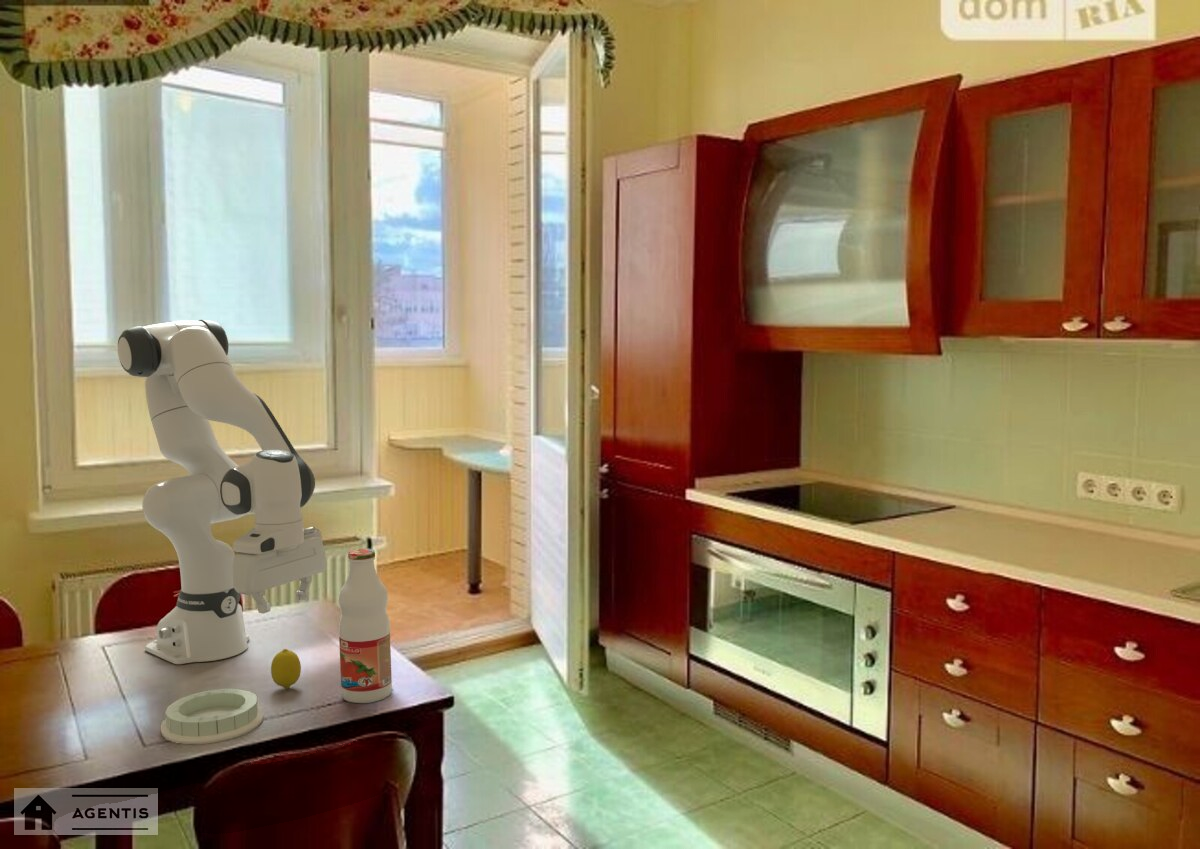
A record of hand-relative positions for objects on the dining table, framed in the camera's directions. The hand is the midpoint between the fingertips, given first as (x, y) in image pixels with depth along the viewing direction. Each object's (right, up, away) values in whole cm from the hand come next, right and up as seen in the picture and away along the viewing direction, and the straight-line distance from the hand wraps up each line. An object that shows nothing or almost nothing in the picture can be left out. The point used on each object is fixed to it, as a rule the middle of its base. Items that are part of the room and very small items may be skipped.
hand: (283, 605), depth 187 cm
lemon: (0, -17, +2) cm, 17 cm away
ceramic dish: (-8, -18, -14) cm, 24 cm away
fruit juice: (+16, -17, -1) cm, 24 cm away
